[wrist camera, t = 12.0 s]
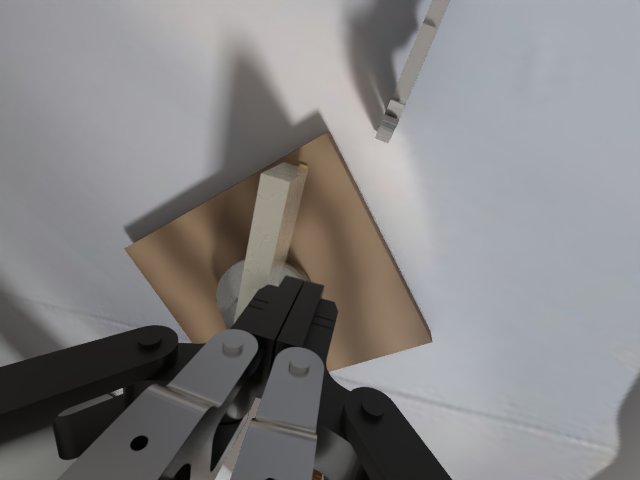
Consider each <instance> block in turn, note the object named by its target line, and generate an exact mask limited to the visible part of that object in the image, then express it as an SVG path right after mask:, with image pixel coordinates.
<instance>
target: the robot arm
mask: <svg viewBox="0 0 640 480" xmlns="http://www.w3.org/2000/svg"><path fill="white" fill-rule="evenodd" d="M324 286H325V285H322V284H318V283H314V282H310V281H305V280H302V279H299V278H295V277H291V276H287V275H286V276H285V277H284V279H283V280H282V282H281V283H280V285H279V287H277V286H274V285H270V284H268V285H266V286H265V287H263V288H261V289H259V290H258V291H257V292H256V294H255V295H254V297H253V299H251V301H250V302H249V304H248V306H246V308H245V309H244V311H243V312H242V313H241V315H240V316H239V317H238V319H237V320H236V322H235V323H234V324H233V326H232V327H231V329H229V330H224V331H221V332H219V333H217V334H215V335H214V336H213V337H212V338H211V339H210V340H209V341H208V342H207V343H202V344H194V343H178V336H177V334H176V333H175V331H173V330H172V329H170V328H168V327H165V326H159V325H152V326H145V327H141V328H138V329H134V330H131V331H127V332H123V333H120V334H116V335H113V336H109V337H106V338H102V339H99V340H95V341H91V342H88V343H84V344H81V345H77V346H74V347H70V348H67V349H63V350H59V351H56V352H52V353H49V354H45V355H42V356H38V357H35V358H31V359H27V360H24V361H20V362H17V363H13V364H10V365H6V366H3V367H0V480H215V478H216V476H217V474H218V472H219V470H220V469H221V467H222V465H223V463H224V461H225V460H226V458H227V456H228V454H229V452H230V450H231V449H232V446H233V445H234V443H235V441H236V439H237V438H238V436H239V434H240V432H241V430H242V429H243V427H244V425H245V423H246V421H247V419H248V414H249V410H250V409H251V407H252V404H253V402H254V400H255V398H256V397H257V398H261V403H260V405H259V408H258V411H257V414H256V417H255V418H253V419H252V420H251V422H250V425H249V427H248V430H247V433H246V436H245V438H244V442H243V444H242V447H241V450H240V453H239V456H238V459H237V462H236V464H235V468H234V470H233V473H232V476H231V479H230V480H312V474H313V467H314V468H315V469H316V470H318V471H319V472H320V473H322V474H323V475H324V480H452V479H451V478H450V476H449V475H448V474H447V472H446V471H445V470H444V468H443V467H442V466H441V464H440V463H439V462H438V460H437V459H436V458H435V456H434V455H433V454H432V452H431V451H430V450H429V449H428V447H427V446H426V445H425V443H424V442H423V441H422V439H421V438H420V437H419V435H418V434H417V433H416V431H415V430H414V429H413V427H412V426H411V425H410V424H409V422H408V421H407V420H406V418H405V417H404V416H403V414H402V413H401V412H400V410H399V409H398V408H397V406H396V405H395V404H394V402H393V401H392V400H391V399H390V398H389V397H388V396H387V395H385V394H384V393H382V392H381V391H379V390H376V389H374V388H370V387H359V388H356V389H353V390H352V391H349V390H347V389H345V388H344V387H342V386H341V385H339V384H338V383H337V382H336V381H335V380H334V379H333V378H332V377H331V376H330V374H329V372H328V370H327V366H326V361H327V356H328V352H329V348H330V344H331V340H332V335H333V331H334V327H335V323H336V319H337V315H338V309H337V307H336V304H335V302H333V301H330V300H326V299H322V296H323V291H324ZM121 388H123V394H121V395H118V396H116V397H112V396H111V395H109V394H108V393H110V392H113V391H116V390H118V389H121Z"/></svg>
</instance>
